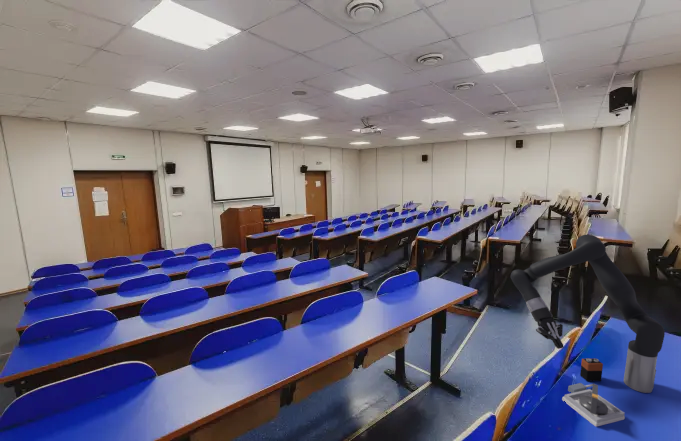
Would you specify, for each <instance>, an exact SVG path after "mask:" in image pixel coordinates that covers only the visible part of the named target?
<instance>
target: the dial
mask: <svg viewBox="0 0 681 441" xmlns="http://www.w3.org/2000/svg"><path fill="white" fill-rule="evenodd" d="M592 384H593V386H591V387H592V388H591V390H592V396H581V397H580V398H579V403H580V404H581V406H583V407H584V408H585V409H587V410H588V411H590V413H592V414H595V415H596V414H599V415H605V414H607V413H608V407H607V406H606V405H605V404H604V403H603V402H602V401H600V400H598V395H599V385H598V384H595V383H592Z"/></svg>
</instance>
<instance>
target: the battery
mask: <svg viewBox="0 0 681 441" xmlns="http://www.w3.org/2000/svg"><path fill="white" fill-rule="evenodd" d="M603 367H604V363H602V362H601V361H600V360H599V359H598V358H595V357H594V358H588V357H587V358H586V357H585V358H581V364H580V373H579V374H580V375H579V376H580V377H582V379H584V380H585V381H586V382H602V375H603Z"/></svg>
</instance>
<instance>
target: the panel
mask: <svg viewBox="0 0 681 441" xmlns="http://www.w3.org/2000/svg"><path fill="white" fill-rule="evenodd" d="M581 396H592V388H588V389H586V390H583V391H579V392H574V393H570V392H569V393H566V394H564V396H562V398H561V400H562V401H563V402H564V401H565V402H566V404H567V405H568V406H569V407H570V408H572V409H573V410H574V411H576V413H578V415H580V416H581V417H582V418H584V419H585V420H587V421H588V422H589V423H590V424H591V425H593V426H594V427H601V426H604V425H607V424H613V423H616V422H620V421H624V420H625V411H623V410H621V409H620V408H618V407H617V406H615V405H614V404H613V403H611V402H610V401H608V400H607V399H605V398H604V397H602V396H601V395H599V394H598V400H600V401H602V402H603V403H604V404H605V405H606V406H607V407H608V413H607V414H605V415H599V414H596V415H595V414H592V413H590V411H588V410H587V409H585V408H584V407H583V406H581V404H580V403H579V398H580V397H581ZM565 402H564V403H565Z"/></svg>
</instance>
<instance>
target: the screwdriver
mask: <svg viewBox="0 0 681 441" xmlns="http://www.w3.org/2000/svg"><path fill="white" fill-rule="evenodd" d="M593 384H594V383H591V384H586V385H585V384H583V383H582V382H578V383H575V384H574V383H573V384H571V385H568V387H567V391H568V392H569V393H570V392H571V393H574V392H579V391H583V390H587V388H590V387H593Z"/></svg>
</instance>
